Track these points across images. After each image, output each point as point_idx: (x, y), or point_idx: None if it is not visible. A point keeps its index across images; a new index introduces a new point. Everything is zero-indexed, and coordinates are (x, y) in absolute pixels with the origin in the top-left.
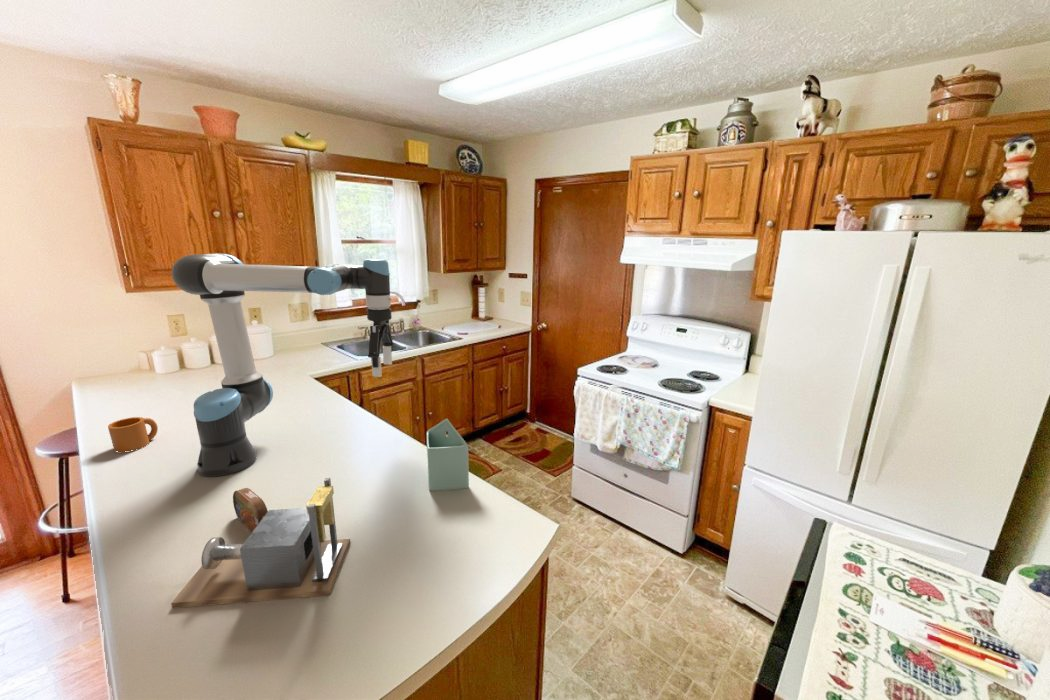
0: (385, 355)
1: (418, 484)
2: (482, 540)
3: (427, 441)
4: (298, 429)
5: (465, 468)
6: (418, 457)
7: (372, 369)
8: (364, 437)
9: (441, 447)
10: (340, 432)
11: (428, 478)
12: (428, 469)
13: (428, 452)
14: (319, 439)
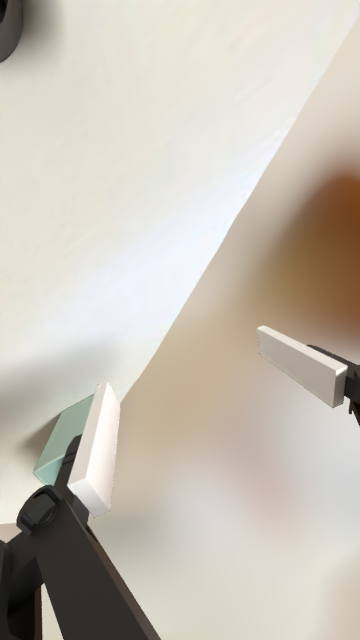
0: (287, 354)
1: (68, 394)
2: (5, 488)
3: (54, 460)
4: (162, 75)
5: None
6: (130, 362)
7: (91, 410)
8: (164, 252)
9: (45, 484)
10: (171, 193)
11: (66, 415)
12: (49, 437)
13: (35, 466)
14: (135, 165)
